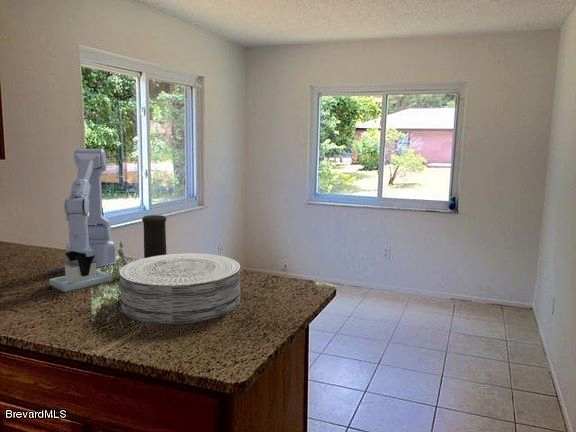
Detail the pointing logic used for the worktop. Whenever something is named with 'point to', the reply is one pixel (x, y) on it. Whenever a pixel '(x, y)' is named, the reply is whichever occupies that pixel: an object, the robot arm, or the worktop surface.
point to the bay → (54, 270)
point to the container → (154, 235)
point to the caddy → (78, 271)
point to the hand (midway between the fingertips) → (81, 274)
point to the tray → (68, 286)
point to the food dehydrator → (179, 287)
